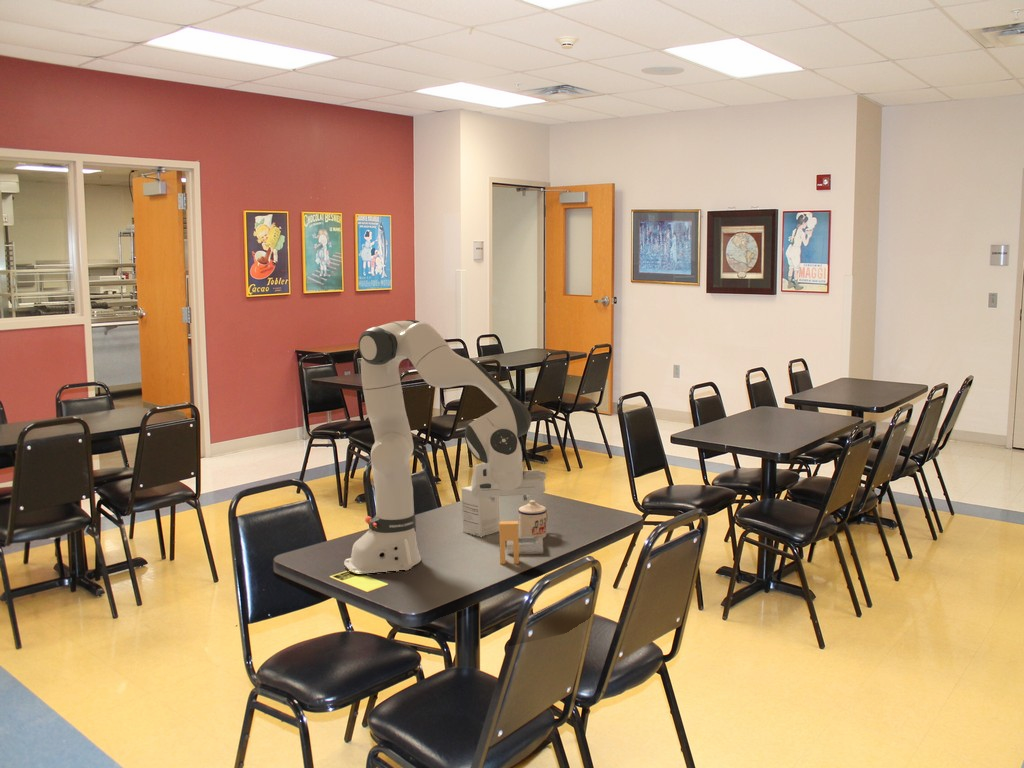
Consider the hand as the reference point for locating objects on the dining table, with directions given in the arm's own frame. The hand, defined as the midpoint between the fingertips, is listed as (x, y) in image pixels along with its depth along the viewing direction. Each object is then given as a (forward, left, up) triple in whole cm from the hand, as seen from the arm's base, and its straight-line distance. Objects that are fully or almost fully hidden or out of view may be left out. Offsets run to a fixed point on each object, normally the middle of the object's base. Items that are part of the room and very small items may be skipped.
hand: (509, 499), depth 246 cm
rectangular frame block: (+13, +18, -22) cm, 31 cm away
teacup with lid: (+23, +30, -22) cm, 43 cm away
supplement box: (+9, +42, -22) cm, 48 cm away
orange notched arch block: (+4, +10, -22) cm, 24 cm away
